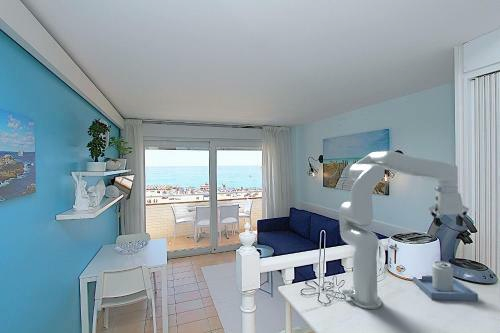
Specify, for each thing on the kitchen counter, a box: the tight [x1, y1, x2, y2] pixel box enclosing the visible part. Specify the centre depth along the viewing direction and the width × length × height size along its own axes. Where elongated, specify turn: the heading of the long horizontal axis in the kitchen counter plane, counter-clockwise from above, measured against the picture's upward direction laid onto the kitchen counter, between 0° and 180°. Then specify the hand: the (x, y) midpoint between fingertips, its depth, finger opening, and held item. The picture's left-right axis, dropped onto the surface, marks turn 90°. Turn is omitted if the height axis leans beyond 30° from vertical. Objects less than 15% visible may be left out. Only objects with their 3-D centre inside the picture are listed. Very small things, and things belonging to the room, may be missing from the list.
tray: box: [412, 274, 479, 302], centre depth 110 cm, size 18×16×3 cm
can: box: [431, 260, 454, 292], centre depth 110 cm, size 8×8×12 cm
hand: (448, 225), depth 115 cm, fingers open, 9 cm apart
